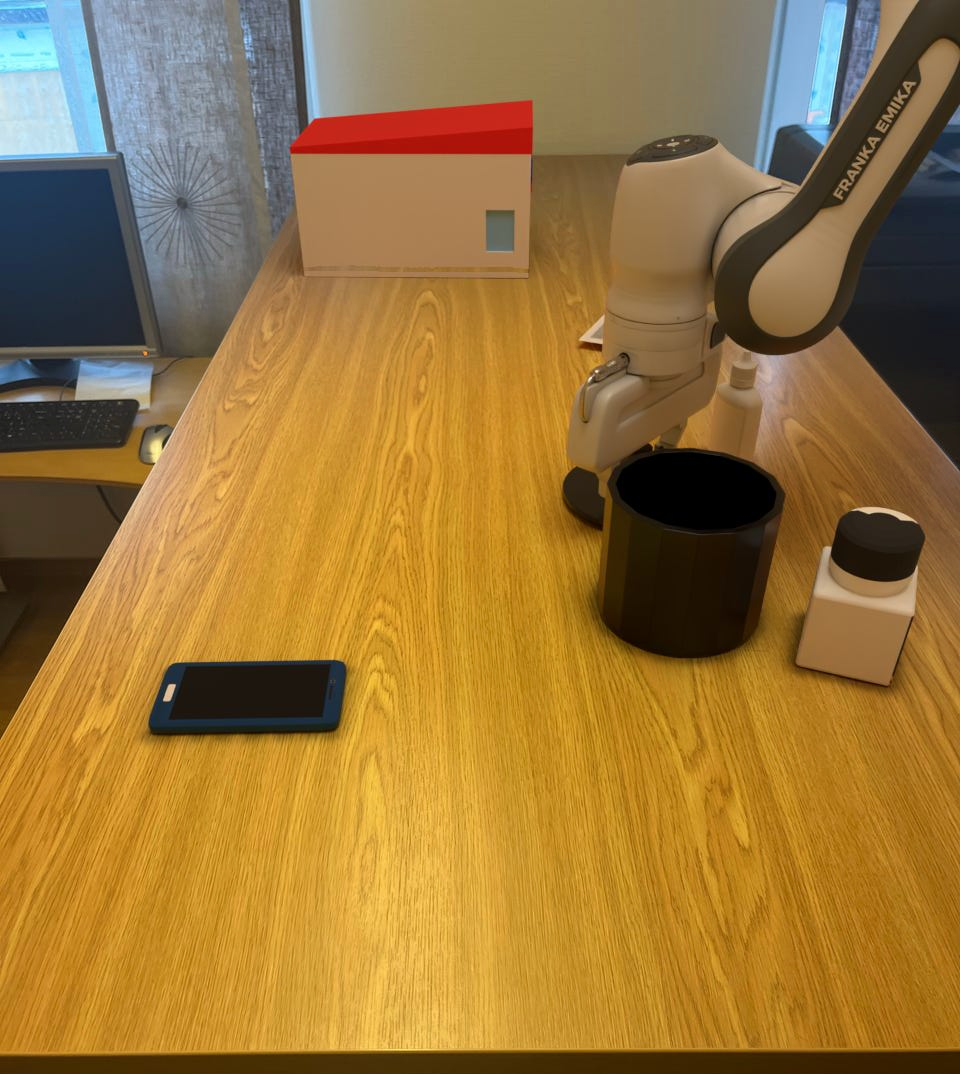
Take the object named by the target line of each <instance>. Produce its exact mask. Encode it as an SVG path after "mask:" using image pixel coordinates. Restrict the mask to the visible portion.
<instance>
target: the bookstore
mask: <svg viewBox="0 0 960 1074" xmlns="http://www.w3.org/2000/svg"><path fill="white" fill-rule="evenodd" d="M533 143H534V102H533V99H529V100H528V99H527V100H517V101H515V100H514V101H503V102H493V103H491V102H490V103H480V104H469V105H458V106H457V105H456V106H447V107H446V106H445V107H434V108H433V107H432V108H422V109H420V108H419V109H410V110H399V111H386V112H385V111H384V112H375V113H373V112H372V113H362V114H361V113H360V114H350V115H340V116H339V115H338V116H328V117H327V116H326V117H315V118H314V119H312V121H311V122H310V123H309V124H307V126H306V127H305V129H304V130H303V131H302V132H301V133H300V134H299V135H298V137H297V138H295V140H294V141H293V142H292V144H291V145H290V146H289V156H290V163H291V164H290V165H291V172H292V173H291V174H292V181H293V189H294V190H293V191H294V197H295V198H294V199H295V207H296V215H297V224H298V231H299V240H300V242H299V243H300V251H301V259H302V266H303V267H317V266H342V265H344V266H346V265H356V266H376V267H378V266H380V267H403V268H404V267H409V268H414V267H415V268H419V267H422V268H424V267H513V268H523V269H529V267H530V230H531V229H530V227H531V193H533V163H534V162H533V161H534V160H533V150H534V149H533V146H534V145H533ZM303 267H302V268H303ZM303 275H304V277H305V278H306V277H307V278H309V277H310V278H443V279H444V278H449V279H454V278H458V279H462V278H463V279H471V278H472V279H476V278H477V279H487V278H488V279H529V273H517V272H379V271H304V270H303Z"/></svg>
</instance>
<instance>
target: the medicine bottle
mask: <svg viewBox="0 0 960 1074" xmlns="http://www.w3.org/2000/svg"><path fill="white" fill-rule="evenodd" d="M925 541H926V533H925V531H924V530H923V528H922V526H921V525H920V523H918V522H917V521H916V519H914V518H912V517H911V516H910V515H907V514H905V513H902V512H900V511H897V510H894V509H890V508H885V507H878V506H864V507H858V508H854V509H850V510H849V511H847V512H846V513H845V514H843V515H841V516H840V517H839V519H838V522H837V526H836V529H835V534H834V537H833V541H832V545H831V546H830V545H829V546H828V545H826V546H824V547H823V548H822V550H821V553H820V557H819V561H818V565H817V569H816V573H815V576H814V582H813V585H812V589H811V593H810V597H809V601H808V604H807V608H806V613H805V617H804V621H803V626H802V630H801V636H800V639H799V644H798V647H797V653H796V657H795V664H796V665H797V666H798V667H800V668H801V667H802V668H806V669H811V670H815V671H819V672H822V673H828V674H832V675H837V676H841V677H846V678H850V679H855V680H858V681H863V682H868V683H873V684H875V685H876V684H877V685H882V686H885V687H887V686H890V685H891V684H892V683H893V679H894V677H895V674H896V670H897V668H898V666H899V662H900V659H901V657H902V656H901V655H902V653H903V650H904V648H905V644H906V641H907V639H908V636H909V632H910V629H911V626H912V623H913V621H914V618H915V615H916V602H917V601H916V600H917V589H918V588H917V587H918V574H919V565H918V562H919V560H920V556H921V554H922V550H923V547H924V546H925V545H924V544H925Z"/></svg>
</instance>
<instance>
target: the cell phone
mask: <svg viewBox="0 0 960 1074" xmlns="http://www.w3.org/2000/svg"><path fill="white" fill-rule="evenodd" d="M346 680H347V666H346V663H345V662H344V661H342V660H338V659H302V660H299V659H298V660H296V659H295V660H293V659H292V660H243V661H241V660H239V661H237V660H236V661H234V660H233V661H182V662H181V661H180V662H179V661H178V662H174V663H173V662H172V663H171V664H170V665H168V667H167V669H166V671H165V672H164V674H163V678H162V681H161V683H160V686H159V688H158V691H157V694H156V696H155V700H154V701H153V706H152V708H151V711H150V713H149V717H148V723H147V725H148V728H149V730H150V732H151V733H154V734H203V733H205V734H206V733H260V732H263V733H265V732H266V733H267V732H269V733H270V732H313V731H314V732H315V731H316V732H319V731H331V730H333V729H336V728H337V727H338V725H339V723H340V721H341V716H342V711H343V710H342V709H343V702H344V694H345V687H346Z"/></svg>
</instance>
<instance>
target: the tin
mask: <svg viewBox="0 0 960 1074" xmlns="http://www.w3.org/2000/svg"><path fill="white" fill-rule="evenodd" d="M785 500H786V492H785V490H784V489H783V487H782V485H781V484H780V482H779V481H778V478H776V476H775V475H774V474H772V473H770V472H769V471H767V470H766V469H764V468H763V467H761V466H760V465H758V464H756V463H755V462H754V461H753V462H751V461H748V460H745V459H742V458H739V457H736V456H733V455H730V454H727V453H724V452H718V451H711V450H707V449H702V448H696V447H677V448H671V449H657V450H654V449H653V451H650V452H646V453H642V454H638V455H634V456H632V457H630V458H629V459H627V460H626V461H624V462H622V463H621V464H619V465H618V466H616V467H615V468H614V469H613V471H612V473H611V475H610V477H609V480H608V482H607V486H606V498H605V510H604V521H603V526H602V533H601V534H602V536H601V545H600V557H599V569H598V570H599V571H598V582H597V593H596V594H597V595H596V598H597V599H596V600H597V606H598V607H597V608H598V612H599V614H600V617H601V619H602V620H603V622H604V624H605V625H606V626H607V627H608V629H610V631H612V632H613V633H614V634H615V635H616V636H617V637H619V638H620V639H622V640H623V641H625V642H627V643H629V644H630V645H632V646H634V647H636V648H639V649H641V650H644V651H647V652H649V653H653V654H658V655H662V656H667V657H672V658H685V659H686V658H693V659H694V658H696V659H697V658H706V657H707V658H708V657H712V656H713V657H714V656H719V655H722V654H726V653H729V652H730V651H732V650H735V649H738V648H739V647H740V646H743V645H744V644H745V643H746V642H748V641H749V640H750V638H751V637H752V636H753V635H754V634H755V632H756V631H757V628H758V627H759V624H760V623H759V622H760V618H761V614H762V609H763V604H764V600H765V596H766V591H767V586H768V581H769V576H770V572H771V567H772V563H773V557H774V553H775V548H776V544H777V540H778V534H779V529H780V526H781V520H782V516H783V511H784V506H785Z"/></svg>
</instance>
